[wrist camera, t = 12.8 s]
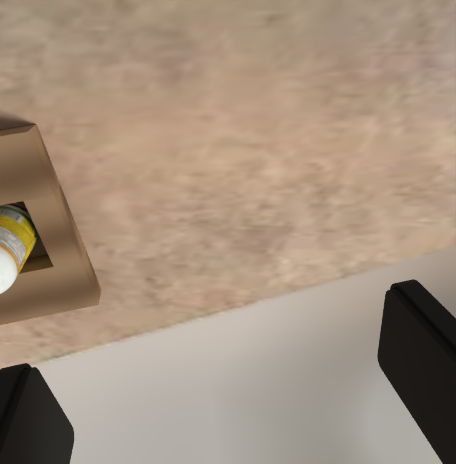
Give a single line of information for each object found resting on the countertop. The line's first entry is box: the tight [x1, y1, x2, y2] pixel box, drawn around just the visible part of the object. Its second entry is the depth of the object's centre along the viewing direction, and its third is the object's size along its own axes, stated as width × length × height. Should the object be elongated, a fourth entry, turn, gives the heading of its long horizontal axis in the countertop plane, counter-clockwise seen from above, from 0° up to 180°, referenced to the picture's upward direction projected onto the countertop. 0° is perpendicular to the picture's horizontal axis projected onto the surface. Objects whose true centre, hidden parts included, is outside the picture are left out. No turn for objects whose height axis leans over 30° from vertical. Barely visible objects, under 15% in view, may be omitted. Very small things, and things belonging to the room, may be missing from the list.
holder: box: [0, 124, 101, 325], centre depth 33 cm, size 18×12×2 cm, turn 7°
